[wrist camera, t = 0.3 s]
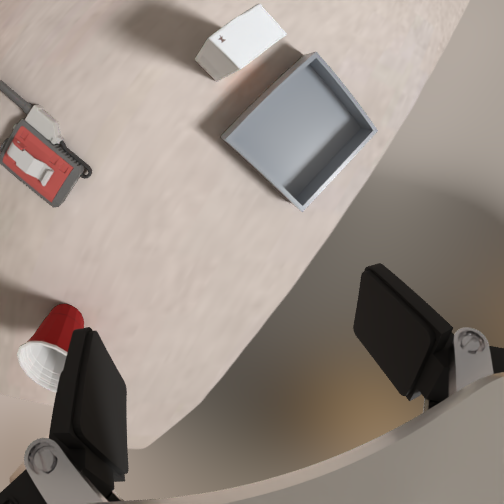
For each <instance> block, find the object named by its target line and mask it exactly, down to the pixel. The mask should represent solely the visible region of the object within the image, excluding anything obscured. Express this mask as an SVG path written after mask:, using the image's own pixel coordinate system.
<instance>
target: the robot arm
mask: <svg viewBox="0 0 504 504" xmlns="http://www.w3.org/2000/svg"><path fill="white" fill-rule="evenodd" d="M353 328H354V332H355V335H356V336H357V338H358V339H359V340H360V341H361V343H362V344H363V345H364V346H365V348H366V349H367V350H368V352H369V353H370V354H371V356H372V357H373V358H374V360H375V361H376V362H377V364H378V365H379V366H380V368H381V369H382V370H383V372H384V373H385V374H386V376H387V377H388V378H389V380H390V381H391V382H392V383H393V385H394V386H395V387H396V389H397V390H398V391H399V393H400V394H401V395H403V396H406V397H407V399H408V400H409V401H411V400H413V399H414V398H416V397H418V396H420V395H421V394H422V395H423V396H424V410H423V413H422V414H420V415H419V416H417V417H415V418H414V419H412V420H410V421H408V422H406V423H405V424H403V425H401V426H399V427H397V428H395V429H394V430H392V431H390V432H388V433H386V434H384V435H382V436H380V437H378V438H376V439H374V440H372V441H369V442H367V443H365V444H363V445H361V446H359V447H356V448H354V449H352V450H349V451H347V452H345V453H342V454H340V455H338V456H335V457H333V458H330V459H327V460H325V461H322V462H320V463H317V464H314V465H311V466H309V467H306V468H303V469H300V470H297V471H294V472H290V473H287V474H284V475H281V476H277V477H274V478H270V479H267V480H263V481H259V482H256V483H251V484H247V485H243V486H238V487H234V488H229V489H225V490H219V491H213V492H208V493H201V494H195V495H188V496H180V497H171V498H162V499H150V500H134V501H124V500H123V499H122V498H121V497H120V496H119V495H118V494H117V493H116V492H115V491H114V482H117V481H125V475H124V474H127V473H128V453H127V421H126V395H127V391H126V385H125V382H124V380H123V378H122V377H121V375H120V373H119V371H118V370H117V368H116V366H115V364H114V363H113V361H112V359H111V357H110V355H109V353H108V352H107V350H106V348H105V346H104V344H103V342H102V340H101V338H100V336H99V334H98V332H97V331H93V330H92V329H91V328H90V327H87V328H81V329H75V330H74V331H73V333H72V337H71V341H70V344H69V348H68V352H67V356H66V360H65V364H64V369H63V371H62V372H61V374H60V378H59V382H58V387H57V392H56V397H55V403H54V408H53V414H52V420H51V427H50V434H49V438H40V439H37V440H35V441H33V442H32V443H31V444H30V445H29V446H28V448H27V450H26V452H25V456H24V464H25V467H26V470H25V471H24V472H23V473H22V474H20V475H19V476H18V477H17V478H16V479H15V480H14V481H13V482H12V483H11V484H10V485H9V486H7V487H6V488H5V489H4V490H3V491H2V492H1V493H0V504H504V348H498V347H493V346H489V343H488V341H487V339H486V337H485V336H484V335H483V334H482V333H481V332H480V331H478V330H476V329H473V328H461V329H459V330H458V331H456V333H455V335H454V334H453V333H452V329H453V327H452V326H451V325H450V324H449V323H448V322H447V321H446V320H444V319H443V318H442V317H441V316H440V315H439V314H438V313H437V312H436V311H435V310H434V309H433V308H432V307H431V306H430V305H428V304H427V303H426V302H425V301H424V300H423V299H422V298H421V297H420V296H418V295H417V294H416V293H415V292H414V291H413V290H412V289H411V288H409V287H408V286H407V285H406V284H405V283H404V282H403V281H401V280H400V279H399V278H398V277H397V276H395V274H393V273H392V272H391V271H390V270H388V269H387V268H386V267H385V266H384V265H382V264H380V263H379V264H375V265H372V266H368V267H366V268H365V271H364V272H363V273H362V275H361V282H360V289H359V296H358V302H357V308H356V314H355V320H354V327H353Z"/></svg>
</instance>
